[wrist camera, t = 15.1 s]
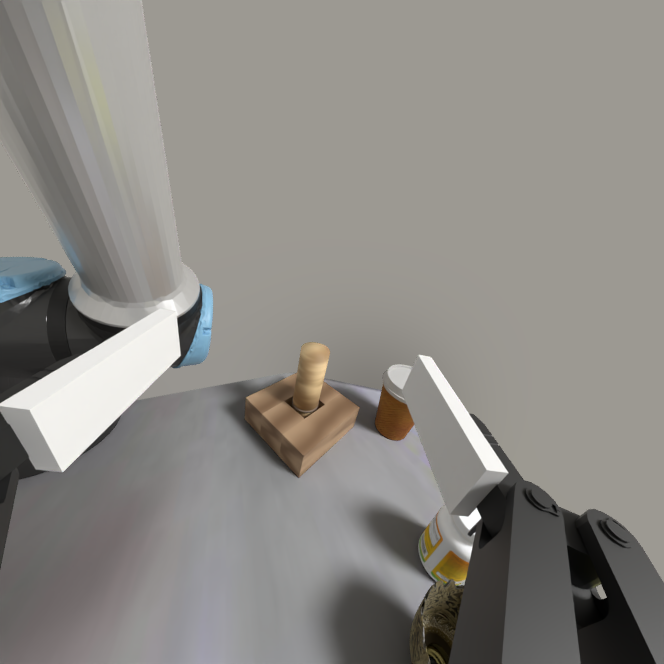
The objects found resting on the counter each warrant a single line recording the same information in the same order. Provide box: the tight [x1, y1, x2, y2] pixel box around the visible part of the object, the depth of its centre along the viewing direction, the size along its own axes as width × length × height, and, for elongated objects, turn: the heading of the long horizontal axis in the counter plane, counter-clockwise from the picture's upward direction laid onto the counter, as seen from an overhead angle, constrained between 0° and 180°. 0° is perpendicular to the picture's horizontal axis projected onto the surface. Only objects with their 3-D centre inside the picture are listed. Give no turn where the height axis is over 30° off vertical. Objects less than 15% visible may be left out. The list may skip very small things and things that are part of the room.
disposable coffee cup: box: [375, 365, 414, 440], centre depth 44 cm, size 10×10×12 cm
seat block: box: [245, 373, 360, 478], centre depth 42 cm, size 14×14×5 cm
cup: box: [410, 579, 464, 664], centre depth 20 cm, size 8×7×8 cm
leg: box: [292, 342, 330, 419], centre depth 39 cm, size 5×5×16 cm
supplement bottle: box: [418, 505, 481, 585], centre depth 27 cm, size 5×5×10 cm
